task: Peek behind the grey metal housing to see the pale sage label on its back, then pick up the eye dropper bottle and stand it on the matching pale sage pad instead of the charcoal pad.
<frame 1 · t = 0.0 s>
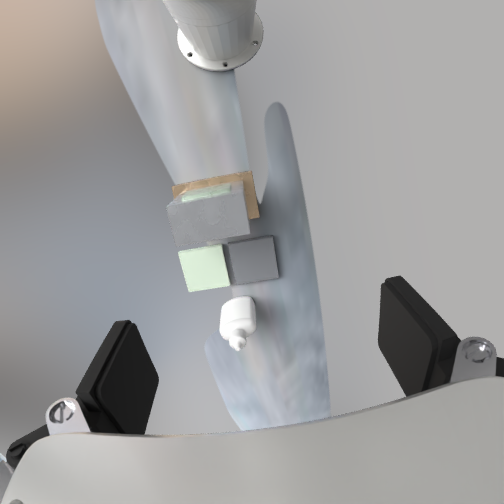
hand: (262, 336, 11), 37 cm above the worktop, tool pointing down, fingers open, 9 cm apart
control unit: (216, 200, 46), on the worktop
eye dropper bottle: (238, 304, 53), on the worktop
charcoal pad: (253, 259, 49), on the worktop
sage pad: (205, 267, 50), on the worktop
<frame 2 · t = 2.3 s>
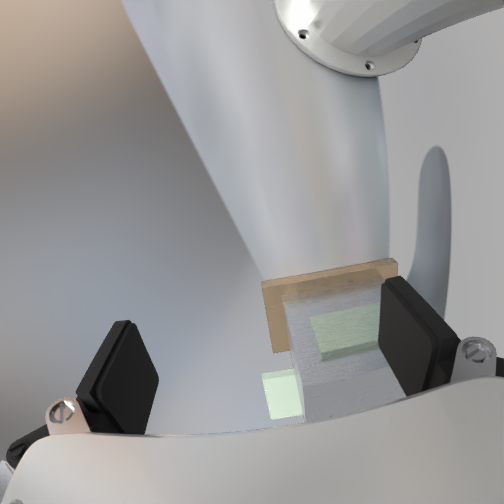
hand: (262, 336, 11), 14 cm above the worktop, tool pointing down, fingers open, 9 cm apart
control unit: (331, 304, 27), on the worktop
sage pad: (298, 389, 31), on the worktop
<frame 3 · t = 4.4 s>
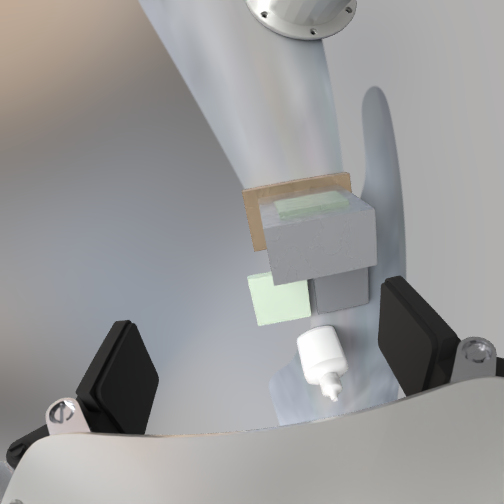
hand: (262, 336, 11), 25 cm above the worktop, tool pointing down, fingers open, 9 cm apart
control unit: (300, 209, 35), on the worktop
eye dropper bottle: (315, 335, 42), on the worktop
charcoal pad: (340, 282, 38), on the worktop
sage pad: (280, 294, 39), on the worktop
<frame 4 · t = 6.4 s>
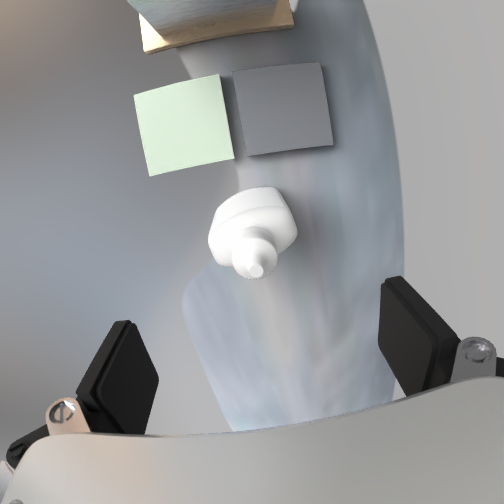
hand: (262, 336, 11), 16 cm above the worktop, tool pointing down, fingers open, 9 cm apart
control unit: (213, 4, 19), on the worktop
eye dropper bottle: (249, 208, 26), on the worktop
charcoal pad: (282, 107, 23), on the worktop
sage pad: (184, 125, 23), on the worktop
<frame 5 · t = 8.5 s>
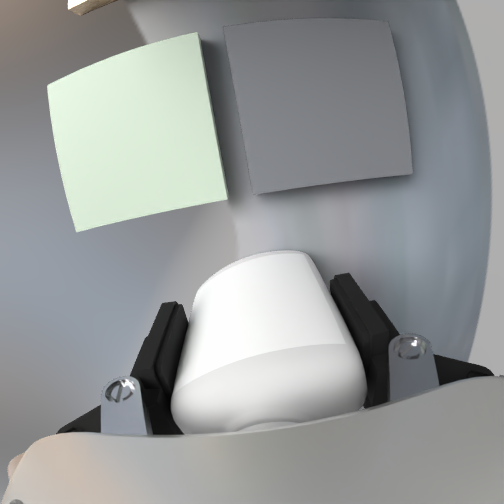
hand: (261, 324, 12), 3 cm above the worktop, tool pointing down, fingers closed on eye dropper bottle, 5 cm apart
eye dropper bottle: (257, 285, 15), on the worktop, touching gripper
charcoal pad: (321, 99, 11), on the worktop
sage pad: (134, 133, 12), on the worktop
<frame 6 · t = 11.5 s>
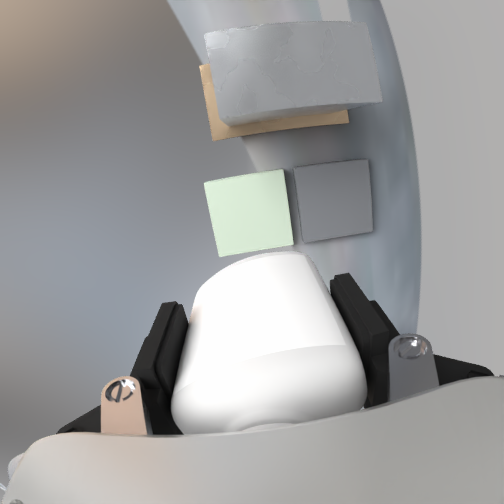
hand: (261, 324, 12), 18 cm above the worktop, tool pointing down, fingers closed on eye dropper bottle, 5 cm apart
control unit: (274, 92, 24), on the worktop
eye dropper bottle: (257, 286, 15), point 15 cm above the worktop, touching gripper
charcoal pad: (333, 198, 28), on the worktop
sage pad: (249, 211, 28), on the worktop
when the fingers open (5 cm above the worktop, at t = 14.4 s): eye dropper bottle drops 1 cm, resting on sage pad.
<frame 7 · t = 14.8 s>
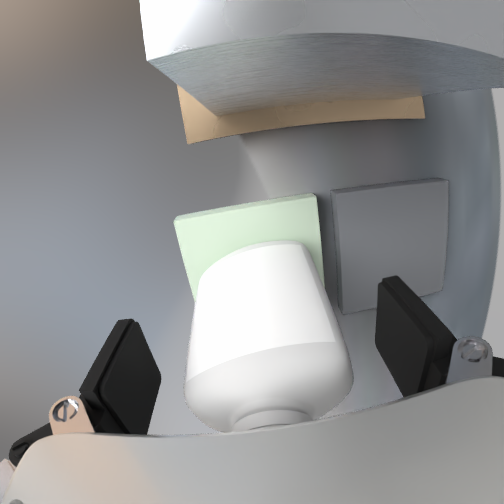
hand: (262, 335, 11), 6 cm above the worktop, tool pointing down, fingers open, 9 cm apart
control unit: (300, 59, 13), on the worktop
eye dropper bottle: (256, 271, 16), point 1 cm above the worktop, touching sage pad
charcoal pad: (391, 242, 16), on the worktop
sage pad: (255, 266, 17), on the worktop
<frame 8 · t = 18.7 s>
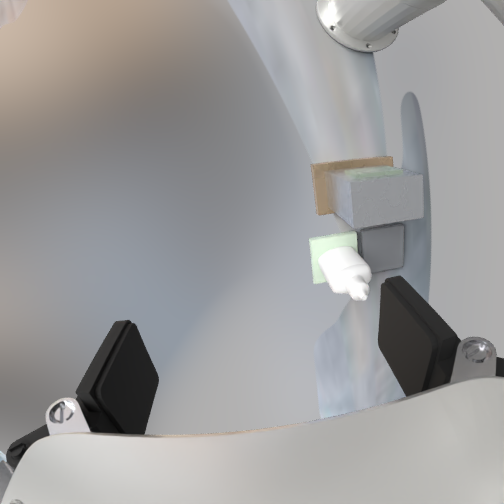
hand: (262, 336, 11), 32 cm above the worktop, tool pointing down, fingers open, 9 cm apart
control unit: (354, 183, 41), on the worktop
eye dropper bottle: (335, 257, 44), point 1 cm above the worktop, touching sage pad
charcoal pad: (381, 247, 45), on the worktop
sage pad: (333, 256, 45), on the worktop
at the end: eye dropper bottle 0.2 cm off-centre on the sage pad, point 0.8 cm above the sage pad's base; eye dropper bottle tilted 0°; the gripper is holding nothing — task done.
